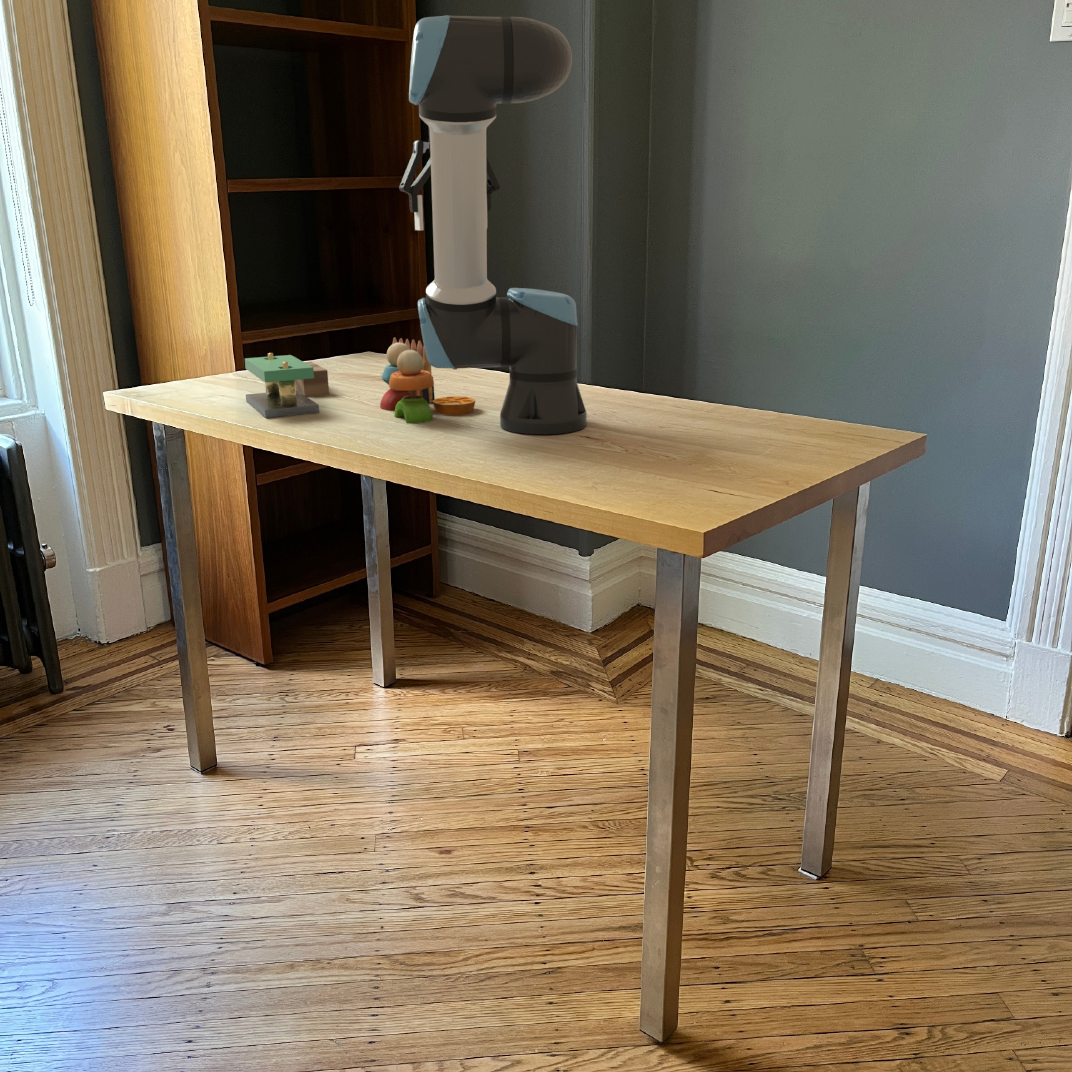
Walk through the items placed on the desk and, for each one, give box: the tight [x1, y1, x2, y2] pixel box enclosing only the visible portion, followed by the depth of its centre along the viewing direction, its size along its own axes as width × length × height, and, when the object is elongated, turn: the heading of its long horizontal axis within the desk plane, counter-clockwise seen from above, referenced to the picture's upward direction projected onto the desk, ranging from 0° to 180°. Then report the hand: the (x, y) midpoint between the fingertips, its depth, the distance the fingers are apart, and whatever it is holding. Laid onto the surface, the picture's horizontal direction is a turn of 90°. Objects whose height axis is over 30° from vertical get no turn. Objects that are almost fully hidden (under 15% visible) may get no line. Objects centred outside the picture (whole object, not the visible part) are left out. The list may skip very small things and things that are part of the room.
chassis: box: [245, 352, 320, 419], centre depth 199 cm, size 17×10×10 cm, turn 26°
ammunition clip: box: [392, 337, 436, 405], centre depth 204 cm, size 11×2×12 cm, turn 49°
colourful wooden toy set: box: [379, 342, 476, 424], centre depth 194 cm, size 18×17×12 cm
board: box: [244, 354, 314, 383], centre depth 198 cm, size 17×9×2 cm, turn 26°
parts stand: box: [295, 361, 330, 397], centre depth 215 cm, size 12×5×5 cm, turn 26°
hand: (451, 229), depth 207 cm, fingers open, 13 cm apart
